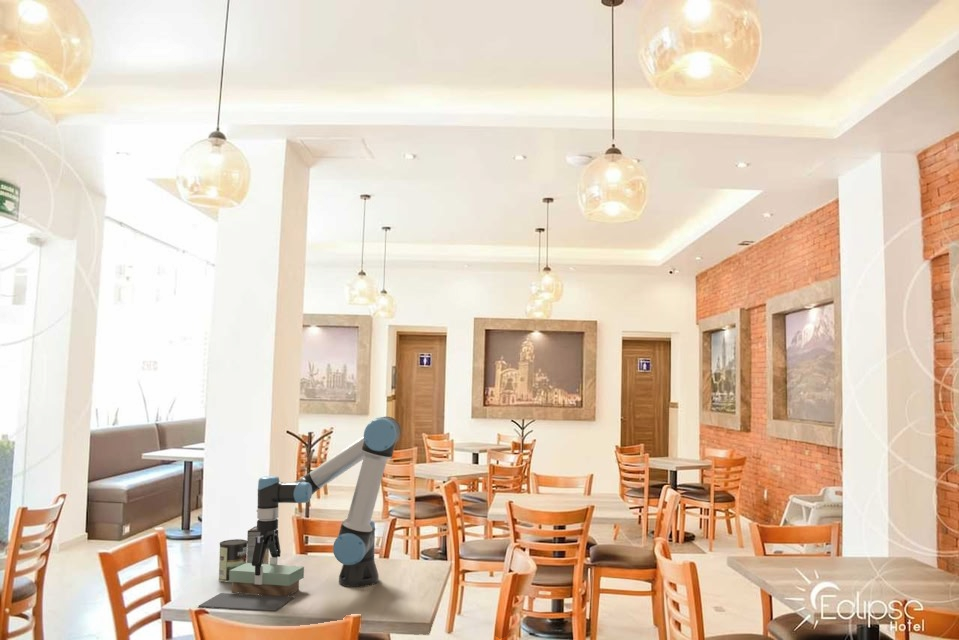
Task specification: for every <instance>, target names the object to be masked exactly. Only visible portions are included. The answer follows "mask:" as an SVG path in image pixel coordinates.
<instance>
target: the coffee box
mask: <svg viewBox="0 0 959 640" xmlns="http://www.w3.org/2000/svg"><path fill="white" fill-rule="evenodd" d="M260 533H261V532H260V531H258V530H257V525H255V526H253V527H252V528H250V529H248V530H247V539H246V540H247V560H246V563H252V559H253V554H254V549H255V542H256V537H260ZM269 553H270V551H269V548H266V552H265V555H264V559H263V562H262V564H269V559H270V557H269V555H270V554H269Z"/></svg>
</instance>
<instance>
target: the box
mask: <svg viewBox="0 0 959 640" xmlns="http://www.w3.org/2000/svg"><path fill="white" fill-rule="evenodd" d="M231 586H232V587H231V593H235V592H239V593H238V594H246V593H249V594H253V595H258V594H259V595H272V596H288V595H289V596H291V595H292V594H294V593H296V592H298V591H299V590H300V580H299V581H297V582H295V583H293V584H291V585H290V586H283V585H269V584H262V585H258V584H255V583H241V582H231ZM297 590H298V591H297ZM295 591H296V592H295ZM290 594H291V595H290Z"/></svg>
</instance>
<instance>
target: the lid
mask: <svg viewBox="0 0 959 640" xmlns="http://www.w3.org/2000/svg"><path fill="white" fill-rule="evenodd" d="M262 565H263V584H269V585H283V586H290V585H291V584H293V583H295V582H297V581H299V582H300V581H301V580H302V579H304V577H305V575H304V574H305V566H301V565H285V564H277V565H271V564H270V563H268V564H262ZM232 582H241V583H255V566H252V563H247V562H246V563H245V564H243V565H241V566H238V567H236V568H234V569H232V570H230V572H229V582H228V583H232Z"/></svg>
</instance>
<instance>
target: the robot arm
mask: <svg viewBox="0 0 959 640" xmlns="http://www.w3.org/2000/svg"><path fill="white" fill-rule="evenodd" d="M401 435H402V428H401V425H400V422H399V421H397V419H395V418H393V417H392V416H381V417H380V416H379V417H376V418H374V419H372V420H371V421H370V422H369V423H368V424H366V426H365V428H364V432H363V436H361V437H360V438H358V439H356V440H355V441H354V442H353V443H351V444H350V445H348V446H347V447H345V448H344V449H342V450H340V451H339V452H338V453H336V454H335V455H333V456H332V457H330V458H329V459H327V460H326V461H324V462H323V463H322V464H320V465H319V466H317V467H315V468H314V469H313V470H311V471H309V473H307V474H305V475H304V476H302V477H300V478H299V479H297V480H294V481H289V482H287V481H285V482H284V481H280V477H279V476H277V475H276V476H274V475H268V476H261V477H260V478H259V479H258V482H257V483H258V484H257V509H256V512H257V515H256V516H257V517H256V518H257V521H256V526H257V530H258V531H260V532H261V533H260V537H256V542H255V549H254V554H253V559H252V566H255V584H258V585H262V584H263V565H262V562H263V559H264V555H265V552H266V548H269V553H270V554H269V555H270V556H271V557H269V564H271V565H278V561H279V560H278V559H279V558H280V557H281V554H282V553H281V551H282V550H281V546H280V539H279V537H280V536H279V529H278V528H279V519H278V518H279V503H280V504H287V503H289V504H304V503H309V502H310V501H311V499H312V495H313V494H315V493H316V492H317V491H319V490H320V489H321V488H323V487H325V486H326V485H328V484H329V483H330V482H332V481H333V480H334V479H337V478H338V477H339V476H341V475H342V474H344V473H345V472H347V471H348V470H350V469H351V468H353V467H354V466H356V465H357V464H359V463H360V462H362V463H361V465H360V470H359V472H358V473H359V474H358V477H357V481H356V484H355V489H354V492H353V496H352V499H351V504H350V506H349V511H348V514H347V518H346V519H344V520H343V521H342V522H341V524H340V527H339V528H340V529H339V532H338V535H337V537H336V539H335V540H334V542H333V547H332V550H333V551H332V553H333V555H334V557H335V559H336V560H337V562H339V563H341V564H342V566H341V569H340V572H339V576H338V584H339V585H341V586H344V587H351V588H352V587H353V588H359V587H360V588H361V586H362V587H368V585H369V586H373V585H375V584H377V583H378V582H379V581H378V580H379V578H380V577H379V572H378V569H377V565H376V563H375V537H376V536H375V535H376V534H375V533H376V525H375V522H374V520H372V519H373V514H374V509H375V506H376V503H377V498H378V495H379V494H378V493H379V491H380V488H381V484H382V480H383V476H384V472H385V469H386V465H387V462H388V461H389V460H390V459H392V458H393V455H394V450H395V447H396V444H397V443H398V442H399V440H400V439H401ZM376 582H377V583H376ZM372 584H373V585H372Z"/></svg>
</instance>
